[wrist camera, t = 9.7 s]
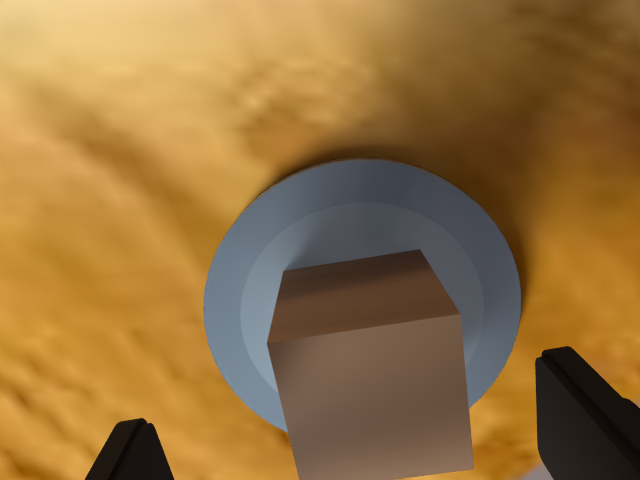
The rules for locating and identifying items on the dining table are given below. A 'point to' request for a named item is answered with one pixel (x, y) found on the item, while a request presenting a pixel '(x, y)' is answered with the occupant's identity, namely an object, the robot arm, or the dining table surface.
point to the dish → (355, 243)
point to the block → (371, 370)
